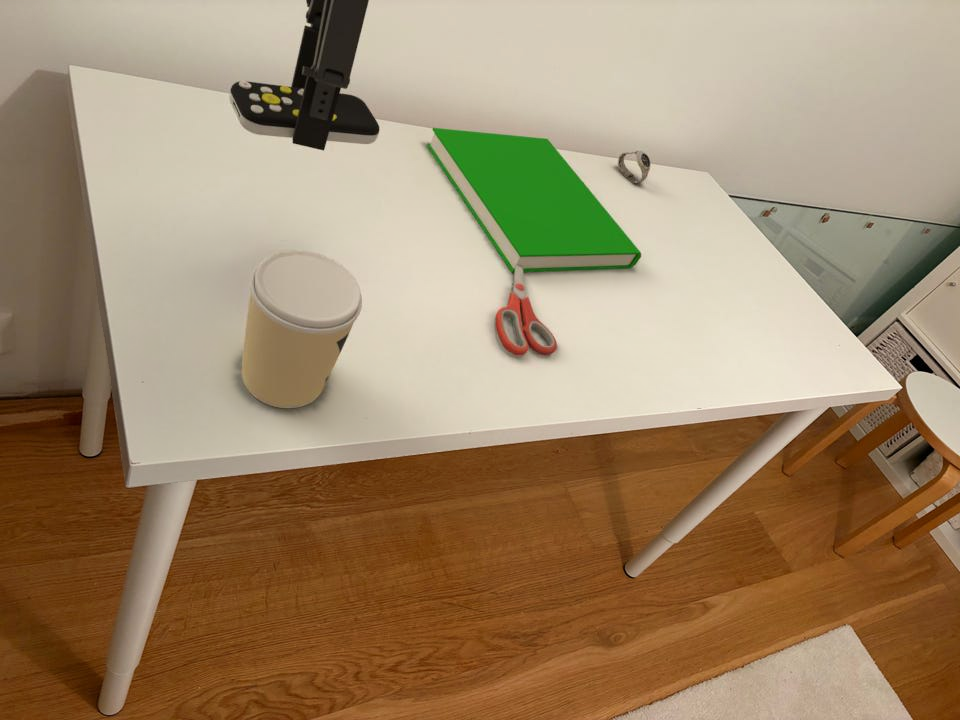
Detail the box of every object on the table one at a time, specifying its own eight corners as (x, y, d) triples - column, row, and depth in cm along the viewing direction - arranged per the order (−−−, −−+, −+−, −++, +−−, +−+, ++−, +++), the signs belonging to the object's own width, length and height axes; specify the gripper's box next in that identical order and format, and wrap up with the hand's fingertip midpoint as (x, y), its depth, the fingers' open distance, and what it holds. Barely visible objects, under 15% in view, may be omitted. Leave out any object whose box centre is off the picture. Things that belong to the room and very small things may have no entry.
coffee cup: (342, 413, 68) (376, 324, 60) (240, 419, 63) (263, 323, 56) (320, 340, 73) (349, 250, 66) (224, 341, 69) (243, 244, 61)
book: (511, 272, 94) (521, 255, 92) (426, 145, 109) (433, 127, 107) (633, 268, 107) (643, 252, 105) (542, 154, 121) (550, 139, 119)
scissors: (522, 247, 98) (526, 239, 97) (558, 364, 85) (564, 356, 84) (470, 236, 95) (474, 228, 94) (500, 356, 82) (505, 348, 81)
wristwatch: (634, 187, 126) (649, 163, 122) (610, 166, 128) (624, 142, 125) (645, 185, 128) (660, 161, 125) (621, 164, 130) (635, 140, 127)
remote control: (380, 148, 67) (386, 129, 66) (243, 136, 60) (247, 115, 59) (357, 110, 71) (362, 92, 69) (224, 95, 63) (227, 74, 62)
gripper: (451, -102, 45) (356, 195, 60) (408, -183, 58) (339, 77, 73) (333, -149, 42) (264, 175, 57) (316, -224, 55) (263, 56, 70)
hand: (306, 120), depth 65 cm, fingers closed on remote control, 7 cm apart
